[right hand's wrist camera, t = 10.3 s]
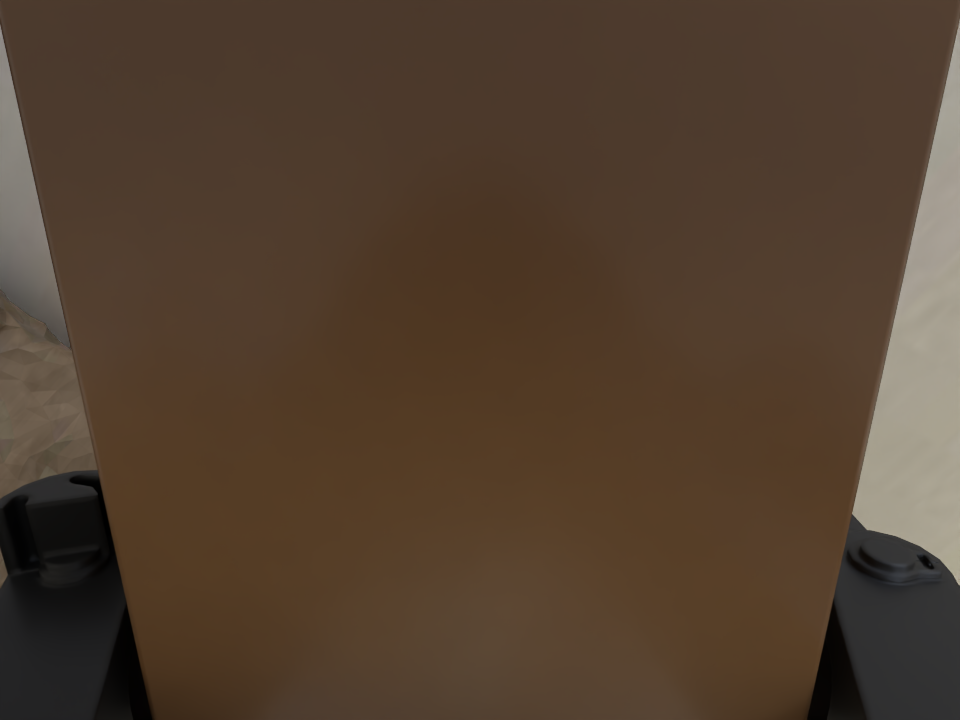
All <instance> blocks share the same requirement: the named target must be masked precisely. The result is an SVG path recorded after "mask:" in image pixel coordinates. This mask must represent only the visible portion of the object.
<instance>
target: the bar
mask: <svg viewBox="0 0 960 720" xmlns="http://www.w3.org/2000/svg"><path fill="white" fill-rule="evenodd" d="M959 20H960V0H0V25H1V30H2V34H3V39H4V43H5V48H6V53H7V57H8V62H9V66H10V71H11V76H12V80H13V85H14V89H15V94H16V98H17V103H18V108H19V112H20V117H21V121H22V126H23V130H24V135H25V140H26V144H27V149H28V153H29V158H30V163H31V167H32V172H33V176H34V181H35V185H36V190H37V195H38V199H39V204H40V208H41V213H42V217H43V222H44V227H45V231H46V236H47V240H48V245H49V250H50V254H51V259H52V263H53V268H54V272H55V277H56V282H57V286H58V291H59V295H60V300H61V305H62V309H63V314H64V318H65V323H66V327H67V332H68V337H69V341H70V346H71V350H72V355H73V359H74V364H75V369H76V373H77V378H78V382H79V387H80V392H81V396H82V401H83V405H84V410H85V414H86V419H87V424H88V428H89V433H90V437H91V442H92V447H93V451H94V456H95V460H96V465H97V469H98V474H99V479H100V483H101V488H102V492H103V497H104V501H105V506H106V511H107V515H108V520H109V524H110V529H111V534H112V538H113V543H114V547H115V552H116V556H117V561H118V566H119V570H120V575H121V579H122V584H123V589H124V593H125V598H126V602H127V607H128V611H129V616H130V621H131V625H132V630H133V634H134V639H135V643H136V648H137V653H138V657H139V662H140V666H141V671H142V676H143V680H144V685H145V689H146V694H147V698H148V703H149V708H150V712H151V717H152V720H807V717H808V713H809V708H810V704H811V699H812V694H813V690H814V685H815V681H816V676H817V672H818V667H819V662H820V658H821V653H822V649H823V644H824V639H825V635H826V630H827V626H828V621H829V616H830V612H831V607H832V603H833V598H834V594H835V589H836V584H837V580H838V575H839V571H840V566H841V561H842V557H843V552H844V548H845V543H846V538H847V534H848V529H849V525H850V520H851V516H852V511H853V506H854V502H855V497H856V493H857V488H858V483H859V479H860V474H861V470H862V465H863V461H864V456H865V451H866V447H867V442H868V438H869V433H870V428H871V424H872V419H873V415H874V410H875V405H876V401H877V396H878V392H879V387H880V383H881V378H882V373H883V369H884V364H885V360H886V355H887V350H888V346H889V341H890V337H891V332H892V328H893V323H894V318H895V314H896V309H897V305H898V300H899V295H900V291H901V286H902V282H903V277H904V272H905V268H906V263H907V259H908V254H909V250H910V245H911V240H912V236H913V231H914V227H915V222H916V217H917V213H918V208H919V204H920V199H921V194H922V190H923V185H924V181H925V176H926V172H927V167H928V162H929V158H930V153H931V149H932V144H933V139H934V135H935V130H936V126H937V121H938V117H939V112H940V107H941V103H942V98H943V94H944V89H945V84H946V80H947V75H948V71H949V66H950V61H951V57H952V52H953V48H954V43H955V39H956V34H957V29H958V25H959Z"/></svg>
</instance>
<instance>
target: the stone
mask: <svg viewBox="0 0 960 720" xmlns="http://www.w3.org/2000/svg"><path fill="white" fill-rule="evenodd" d="M86 470H98V469H97V465H96V460H95V456H94V451H93V447H92V442H91V437H90V433H89V428H88V424H87V419H86V414H85V410H84V405H83V401H82V396H81V392H80V387H79V382H78V378H77V373H76V369H75V364H74V359H73V355H72V350H71V349H70V348H68V347H67V346H65V345H64V344H62V343H61V342H60V341H59V340H58V339H57V338H56V337H55V336H54V335H53V334H52V333H51V332H50V331H49V329H48V328H47V326H46V324H45V323H43V322H41V321H39V320H37V319H35V318H33V317H31V316H29V315H28V314H26V313H25V312H24V311H22V310H21V309H20V308H18V307H17V306H16V305H14V304H13V303H12V302H10V301H9V300H8V298H7V297H6V296H5V294H4V293H3V292H2V291H1V290H0V499H1V498H2V497H3V496H5V495H7V494H9V493H11V492H12V491H14V490H16V489H18V488H20V487H22V486H23V485H26V484H29V483H31V482H34V481H37V480H40V479H43V478H45V477H48V476H53V475H57V474H62V473H67V472H72V471H86ZM7 576H8V574H7V570H6V567H5V563H4V560H3V556H2V553H1V549H0V588H1V586H2V585H3V583H4V581H5V579H6V577H7Z"/></svg>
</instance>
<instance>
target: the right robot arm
mask: <svg viewBox="0 0 960 720" xmlns="http://www.w3.org/2000/svg"><path fill="white" fill-rule="evenodd" d="M0 549H1V553H2V556H3V560H4V563H5V567H6V570H7V574H8V576H7V577H6V579H5V581H4V583H3V585H2V586H1V588H0V720H152V717H151V712H150V708H149V703H148V698H147V694H146V689H145V685H144V680H143V676H142V671H141V666H140V662H139V657H138V653H137V648H136V643H135V639H134V634H133V630H132V625H131V621H130V616H129V611H128V607H127V602H126V598H125V593H124V589H123V584H122V579H121V575H120V570H119V566H118V561H117V556H116V552H115V547H114V543H113V538H112V534H111V529H110V524H109V520H108V515H107V511H106V506H105V501H104V497H103V492H102V488H101V483H100V479H99V474H98V470H86V471H72V472H67V473H62V474H57V475H53V476H48V477H45V478H43V479H40V480H37V481H34V482H31V483H29V484H26V485H23V486H22V487H20V488H18V489H16V490H14V491H12V492H11V493H9V494H7V495H5V496H3V497H2V498H1V499H0ZM807 720H960V585H958V583H957V582H956V580H955V578H954V576H953V574H952V573H951V572H950V571H949V570H948V568H947V567H946V566H945V565H944V564H943V563H942V562H941V560H940V559H938V558H937V557H935V556H934V555H932V554H931V553H929V552H928V551H926V550H924V549H923V548H921V547H920V546H918V545H915V544H913V543H910V542H908V541H906V540H903V539H901V538H898V537H896V536H892V535H888V534H884V533H879V532H875V531H870V530H866V529H865V528H864V527H863V525H862V524H861V523H860V522H859V521H858V520H857V519H856V518H855V517H854V516H853V515H852V516H851V520H850V525H849V529H848V534H847V538H846V543H845V548H844V552H843V557H842V561H841V566H840V571H839V575H838V580H837V584H836V589H835V594H834V598H833V603H832V607H831V612H830V616H829V621H828V626H827V630H826V635H825V639H824V644H823V649H822V653H821V658H820V662H819V667H818V672H817V676H816V681H815V685H814V690H813V694H812V699H811V704H810V708H809V713H808V717H807Z"/></svg>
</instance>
